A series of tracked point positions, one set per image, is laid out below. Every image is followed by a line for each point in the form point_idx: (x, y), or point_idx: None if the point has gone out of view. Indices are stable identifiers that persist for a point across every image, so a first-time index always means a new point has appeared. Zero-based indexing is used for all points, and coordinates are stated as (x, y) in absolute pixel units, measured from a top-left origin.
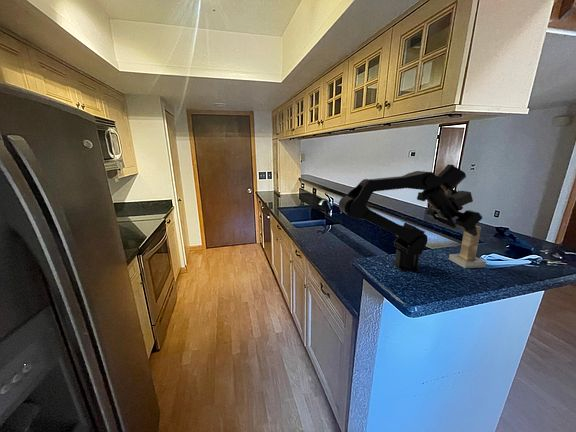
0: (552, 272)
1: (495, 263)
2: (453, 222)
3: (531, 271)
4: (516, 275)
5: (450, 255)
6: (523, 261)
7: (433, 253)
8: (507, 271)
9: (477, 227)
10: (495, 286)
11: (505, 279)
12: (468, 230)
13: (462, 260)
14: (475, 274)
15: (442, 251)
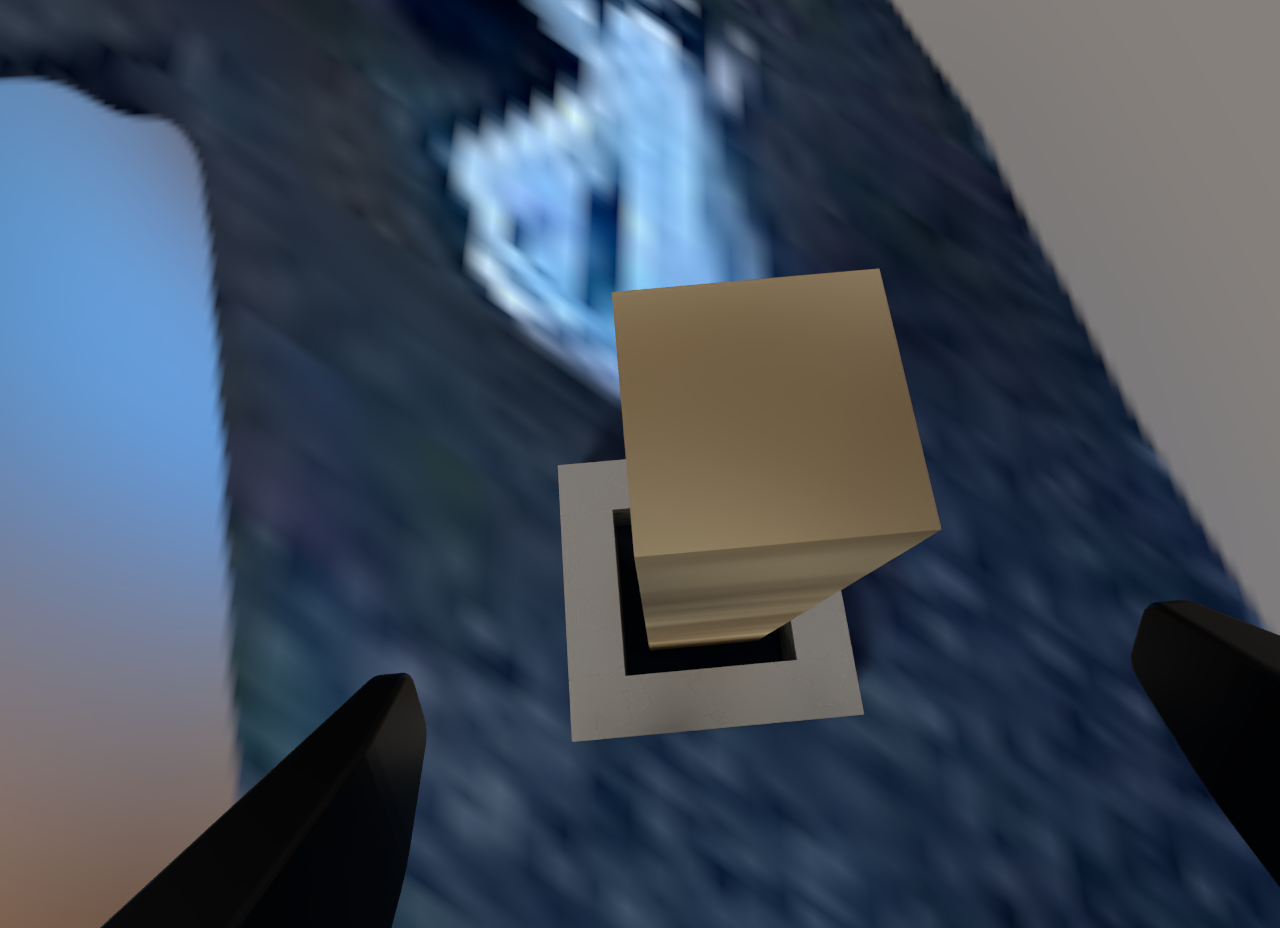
0: (852, 30)
1: None
2: (343, 809)
3: (847, 146)
4: (946, 312)
5: (593, 737)
6: (644, 60)
7: None
8: None
9: (899, 374)
10: None
11: (1052, 466)
12: None
13: (786, 702)
14: (981, 688)
15: (317, 641)
